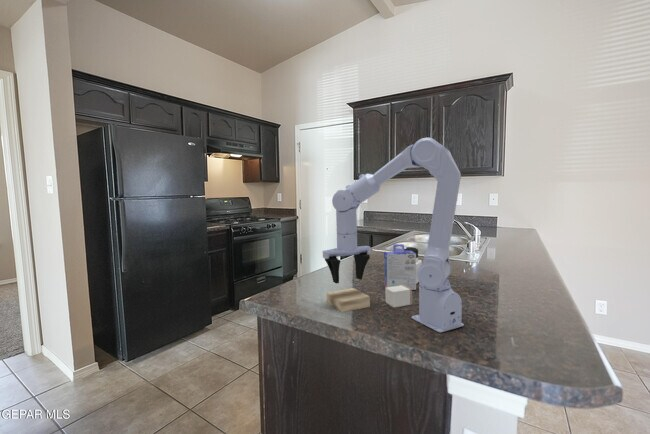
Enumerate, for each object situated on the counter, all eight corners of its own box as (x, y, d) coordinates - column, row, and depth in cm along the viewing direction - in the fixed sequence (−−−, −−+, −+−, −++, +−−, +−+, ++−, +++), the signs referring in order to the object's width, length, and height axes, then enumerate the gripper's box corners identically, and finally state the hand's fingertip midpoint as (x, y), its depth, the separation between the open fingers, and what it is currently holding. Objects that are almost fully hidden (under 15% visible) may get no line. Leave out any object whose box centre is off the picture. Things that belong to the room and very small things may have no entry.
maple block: (369, 306, 85) (369, 296, 85) (341, 312, 82) (341, 301, 81) (353, 297, 94) (353, 287, 93) (326, 302, 90) (326, 292, 89)
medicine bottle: (422, 279, 111) (422, 247, 111) (416, 284, 105) (416, 250, 105) (402, 277, 115) (402, 245, 114) (396, 281, 109) (396, 248, 108)
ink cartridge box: (412, 285, 105) (412, 243, 104) (417, 290, 99) (417, 246, 98) (383, 285, 105) (383, 244, 104) (386, 291, 99) (386, 246, 98)
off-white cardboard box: (393, 308, 85) (412, 304, 86) (393, 291, 84) (412, 289, 86) (385, 302, 89) (403, 299, 91) (385, 287, 89) (403, 284, 90)
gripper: (360, 230, 93) (361, 274, 94) (317, 233, 86) (318, 280, 87) (374, 232, 86) (375, 279, 87) (328, 236, 80) (329, 287, 81)
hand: (347, 280), depth 87 cm, fingers open, 7 cm apart
